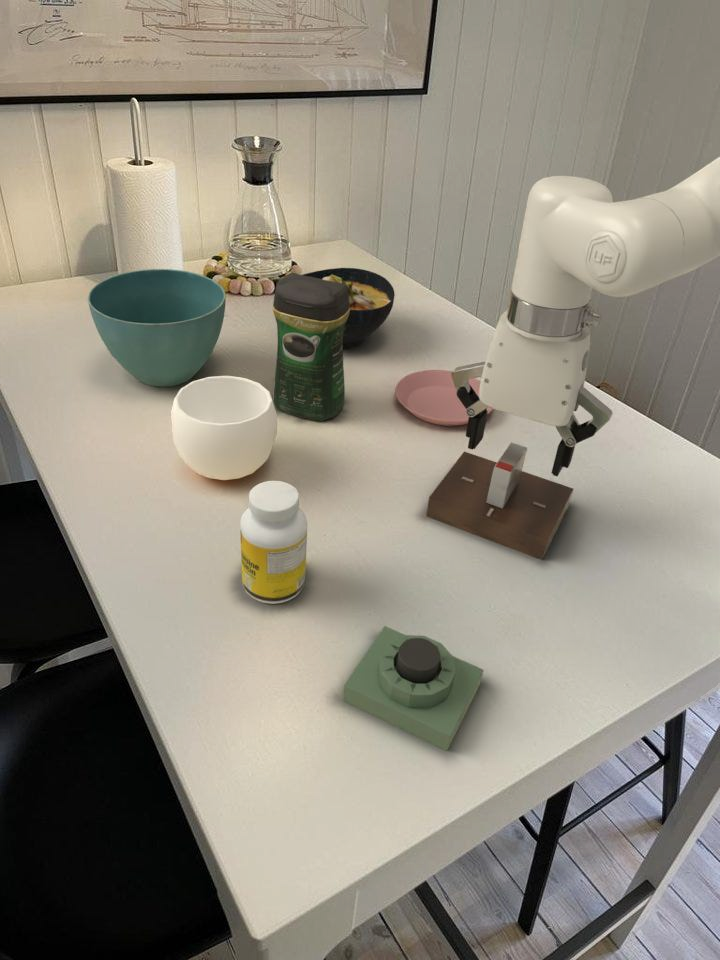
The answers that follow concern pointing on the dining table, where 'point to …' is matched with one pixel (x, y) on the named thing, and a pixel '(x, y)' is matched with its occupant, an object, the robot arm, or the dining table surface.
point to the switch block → (413, 690)
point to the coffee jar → (310, 346)
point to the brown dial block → (515, 525)
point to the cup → (224, 426)
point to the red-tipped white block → (506, 475)
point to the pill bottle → (273, 543)
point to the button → (418, 660)
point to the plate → (434, 397)
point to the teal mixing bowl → (159, 322)
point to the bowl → (361, 301)
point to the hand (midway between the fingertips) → (515, 456)
